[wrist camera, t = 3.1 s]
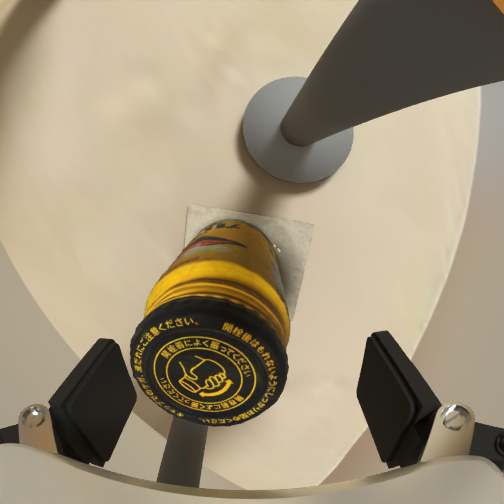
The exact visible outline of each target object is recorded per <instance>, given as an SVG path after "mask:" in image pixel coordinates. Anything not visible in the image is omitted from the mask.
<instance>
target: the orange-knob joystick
mask: <svg viewBox="0 0 504 504" xmlns="http://www.w3.org/2000/svg"><path fill="white" fill-rule="evenodd" d="M207 430H208V426H207V425H200V424H196V423H193V422H190V421H187V420H185V419H181V418H178V417H175V416H174V418H173V422H172V425H171V429H170V432H169V436H168V440H167V444H166V447H165V451H164V454H163V459H162V462H161V466H160V470H159V473H158V477H157V482H159V483H165V484H171V485H178V486H185V487H194V488H199V483H200V476H201V469H202V462H203V456H204V449H205V443H206V436H207Z"/></svg>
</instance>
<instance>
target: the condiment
mask: <svg viewBox="0 0 504 504" xmlns="http://www.w3.org/2000/svg"><path fill="white" fill-rule="evenodd" d="M313 228H314V224H310V223H304V222H298V221H293V220H286V219H280V218H275V217H268V216H262V215H256V214H250V213H244V212H237V211H230V210H223V209H217V208H209V207H202V206H194V205H188V212H187V221H186V233H185V243H184V249H183V251H182V253H181V254H180V255H179V256H178V257H177V259H176V260H175V261H174V262H173V263H172V265H171V266H170V267H169V269H168V270H167V271H166V272H165V273H164V274H163V275H162V276H161V277H160V279H159V280H158V282H157V283H156V284H155V286H154V288H153V289H152V291H151V293H150V295H149V297H148V300H147V303H146V308H145V314H144V319H143V321H142V322H141V323H140V324H139V325H138V327H137V328H136V331H135V334H134V335H133V337H132V339H131V344H130V349H131V351H130V356H131V359H130V362H131V368H132V371H133V377H134V378H135V379H136V380H137V382H138V384H139V386H140V388H141V389H142V390H143V392H144V393H145V394H146V395H147V396H148V397H149V398H150V399H151V400H152V401H153V402H155V403H156V404H157V405H158V406H159V407H161V408H162V409H164V410H165V411H166V412H168V413H170V414H172V415H174V416H175V417H178V418H181V419H185V420H187V421H190V422H193V423H196V424H200V425H207V426H232V425H236V424H241V423H243V422H245V421H248V420H250V419H252V418H254V417H256V416H258V415H260V414H261V413H263V412H264V411H265V410H267V409H268V408H270V407H271V406H272V405H273V404H275V403H276V402H277V400H278V398H279V397H280V395H281V393H282V392H283V389H284V387H285V383H286V380H287V374H288V368H289V366H288V357H287V354H286V346H287V345H288V341H289V336H290V320H292V321H293V317H294V313H295V308H296V304H297V299H298V295H299V291H300V286H301V282H302V278H303V273H304V268H305V267H304V266H305V264H306V260H307V256H308V251H309V246H310V241H311V237H312V233H313ZM273 244H275V245H276V248H274V246H273ZM277 248H279V249H280V250H281V252H279V251H278V250H277Z"/></svg>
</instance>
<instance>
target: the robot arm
mask: <svg viewBox="0 0 504 504" xmlns="http://www.w3.org/2000/svg"><path fill="white" fill-rule="evenodd" d="M357 398H358V401H359V403H360V406H361V408H362V411H363V413H364V416H365V419H366V421H367V424H368V426H369V428H370V431H371V434H372V437H373V439H374V442H375V445H376V447H377V450H378V453H379V455H380V458H381V461H382V462H384V463H385V462H386V463H387V465H388V468H389V469H390V468H393V467H396V466H399V465H400V467H401V468H399V469H395V470H392V471H388V472H385V473H381V474H377V475H373V476H368V477H364V478H359V479H355V480H349V481H344V482H339V483H333V484H327V485H320V486H312V487H304V488H293V489H280V490H218V489H217V490H216V489H204V488H194V487H185V486H178V485H171V484H165V483H159V482H154V481H148V480H144V479H139V478H134V477H130V476H126V475H122V474H118V473H115V472H111V471H107V470H104V469H101V468H97V467H94V466H91V465H89V463H91V464H94V465H97V466H100V467H103V466H104V464H105V462H106V461H109V459H110V457H111V455H112V453H113V450H114V448H115V446H116V444H117V442H118V439H119V437H120V435H121V433H122V430H123V428H124V426H125V424H126V421H127V420H128V417H129V415H130V413H131V411H132V409H133V407H134V405H135V402H136V399H137V395H136V391H135V389H134V386H133V384H132V381H131V378H130V376H129V373H128V370H127V367H126V365H125V362H124V359H123V356H122V353H121V350H120V347H119V345H118V344H117V343H116V342H115V341H114V340H113V339H105V338H100V339H98V340H97V342H96V343H95V344H94V345H93V346H92V348H91V349H90V350H89V351H88V352H87V354H86V355H85V356H84V357H83V358H82V360H81V361H80V362H79V363H78V365H77V366H76V367H75V368H74V369H73V371H72V372H71V373H70V375H69V376H68V377H67V378H66V379H65V381H64V382H63V383H62V385H61V386H60V387H59V388H58V390H57V391H56V392H55V394H54V395H53V396H52V397H51V399H50V400H49V401H48V402H49V404H50V406H51V407H50V408H49V409H48V408H47V407H46V406H44V405H42V404H33V405H30V406H28V407H26V408H25V409H24V410H23V411H22V412H21V413H20V415H19V419H18V424H16V425H13V426H9V427H6V428H2V429H0V504H504V429H503V428H498V427H493V426H489V425H485V424H481V423H477V422H475V416H474V413H473V411H472V410H471V409H470V407H468V406H467V405H465V404H463V403H460V402H449V403H446V404H444V405H441V403H440V401H439V400H438V398H437V397H436V396H435V394H434V393H433V391H432V390H431V388H430V387H429V385H428V384H427V382H426V381H425V380H424V378H423V377H422V375H421V374H420V373H419V371H418V370H417V368H416V367H415V366H414V364H413V363H412V362H411V361H410V360H409V358H408V357H407V356H406V354H405V353H404V351H403V350H402V349H401V347H400V346H399V345H398V343H397V342H396V341H395V339H394V338H393V337H392V335H391V334H390V333H389V332H388V331H380V332H373V333H372V335H371V337H368V338H367V342H366V347H365V353H364V358H363V363H362V368H361V373H360V377H359V382H358V386H357Z"/></svg>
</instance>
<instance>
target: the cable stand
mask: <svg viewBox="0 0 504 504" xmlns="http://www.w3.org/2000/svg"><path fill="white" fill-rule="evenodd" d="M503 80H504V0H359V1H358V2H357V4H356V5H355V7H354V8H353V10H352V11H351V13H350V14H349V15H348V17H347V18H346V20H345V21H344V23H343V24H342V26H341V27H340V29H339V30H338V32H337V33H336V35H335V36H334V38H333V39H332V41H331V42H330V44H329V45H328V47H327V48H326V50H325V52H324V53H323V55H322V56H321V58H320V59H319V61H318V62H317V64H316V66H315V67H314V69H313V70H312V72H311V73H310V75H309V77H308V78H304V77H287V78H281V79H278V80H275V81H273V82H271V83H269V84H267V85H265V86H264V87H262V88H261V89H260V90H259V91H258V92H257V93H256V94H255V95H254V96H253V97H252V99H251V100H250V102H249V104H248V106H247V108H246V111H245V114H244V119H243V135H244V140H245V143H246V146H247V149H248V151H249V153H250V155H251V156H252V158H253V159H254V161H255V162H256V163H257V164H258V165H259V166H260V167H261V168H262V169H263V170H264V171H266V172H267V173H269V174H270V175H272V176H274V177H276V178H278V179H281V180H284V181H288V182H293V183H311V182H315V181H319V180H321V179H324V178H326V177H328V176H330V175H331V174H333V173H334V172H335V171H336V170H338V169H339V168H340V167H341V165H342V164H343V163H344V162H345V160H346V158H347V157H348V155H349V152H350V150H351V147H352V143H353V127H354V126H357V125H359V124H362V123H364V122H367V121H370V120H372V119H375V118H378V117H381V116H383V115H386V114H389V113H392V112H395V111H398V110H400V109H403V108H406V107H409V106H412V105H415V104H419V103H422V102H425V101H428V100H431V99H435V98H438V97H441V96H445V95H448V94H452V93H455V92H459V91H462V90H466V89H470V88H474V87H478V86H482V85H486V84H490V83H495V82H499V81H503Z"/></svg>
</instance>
